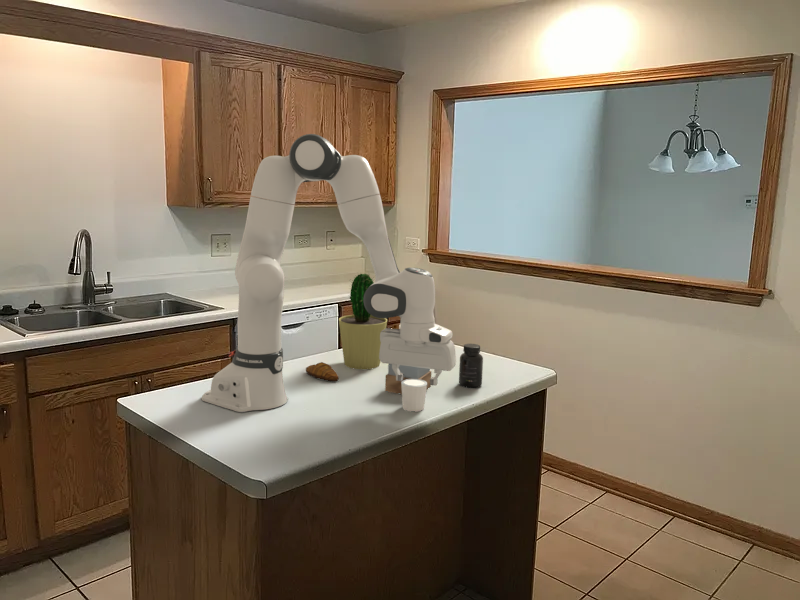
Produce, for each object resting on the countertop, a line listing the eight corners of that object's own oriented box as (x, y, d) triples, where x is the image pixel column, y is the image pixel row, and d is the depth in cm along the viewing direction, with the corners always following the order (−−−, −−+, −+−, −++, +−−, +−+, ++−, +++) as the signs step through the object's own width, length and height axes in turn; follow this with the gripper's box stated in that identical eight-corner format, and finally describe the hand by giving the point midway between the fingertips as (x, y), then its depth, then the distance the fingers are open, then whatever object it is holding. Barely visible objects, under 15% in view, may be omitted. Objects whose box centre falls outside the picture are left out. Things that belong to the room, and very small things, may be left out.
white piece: (424, 413, 167) (425, 387, 166) (397, 411, 169) (398, 385, 167) (428, 404, 174) (429, 379, 173) (403, 402, 175) (403, 377, 174)
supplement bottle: (459, 380, 196) (461, 341, 194) (482, 382, 195) (484, 343, 193) (457, 387, 190) (459, 347, 187) (480, 389, 188) (483, 349, 186)
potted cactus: (372, 374, 199) (374, 277, 194) (328, 366, 206) (330, 272, 200) (394, 362, 213) (397, 271, 207) (353, 355, 219) (355, 267, 214)
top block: (388, 374, 184) (388, 357, 183) (401, 366, 192) (402, 350, 191) (417, 379, 180) (418, 361, 179) (429, 371, 188) (430, 354, 187)
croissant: (298, 375, 197) (298, 359, 196) (315, 371, 202) (315, 355, 201) (328, 386, 188) (328, 369, 187) (345, 381, 193) (345, 364, 192)
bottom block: (385, 392, 184) (385, 375, 183) (399, 382, 193) (399, 366, 192) (418, 397, 180) (418, 380, 179) (430, 387, 189) (431, 371, 188)
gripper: (375, 329, 169) (375, 381, 171) (451, 337, 161) (449, 391, 164) (384, 324, 174) (384, 374, 177) (458, 332, 167) (456, 383, 170)
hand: (416, 382), depth 170 cm, fingers open, 8 cm apart
